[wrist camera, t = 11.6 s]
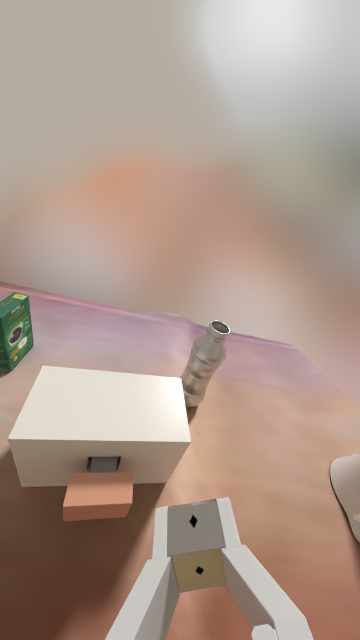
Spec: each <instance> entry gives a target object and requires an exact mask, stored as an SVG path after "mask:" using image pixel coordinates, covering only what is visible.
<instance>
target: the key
mask: <svg viewBox="0 0 360 640" xmlns="http://www.w3.org/2000/svg"><path fill="white" fill-rule="evenodd" d="M116 465H117V457H92V462H91V468H90V473H71V474H70V478H69V482H68V486H67V491H66V495H65V499H64V504H63V521H77V520H92V519H107V518H122V517H126V516H127V513H128V511H129V509H130V507H131V505H132V498H133V473H134V472H116Z"/></svg>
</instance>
